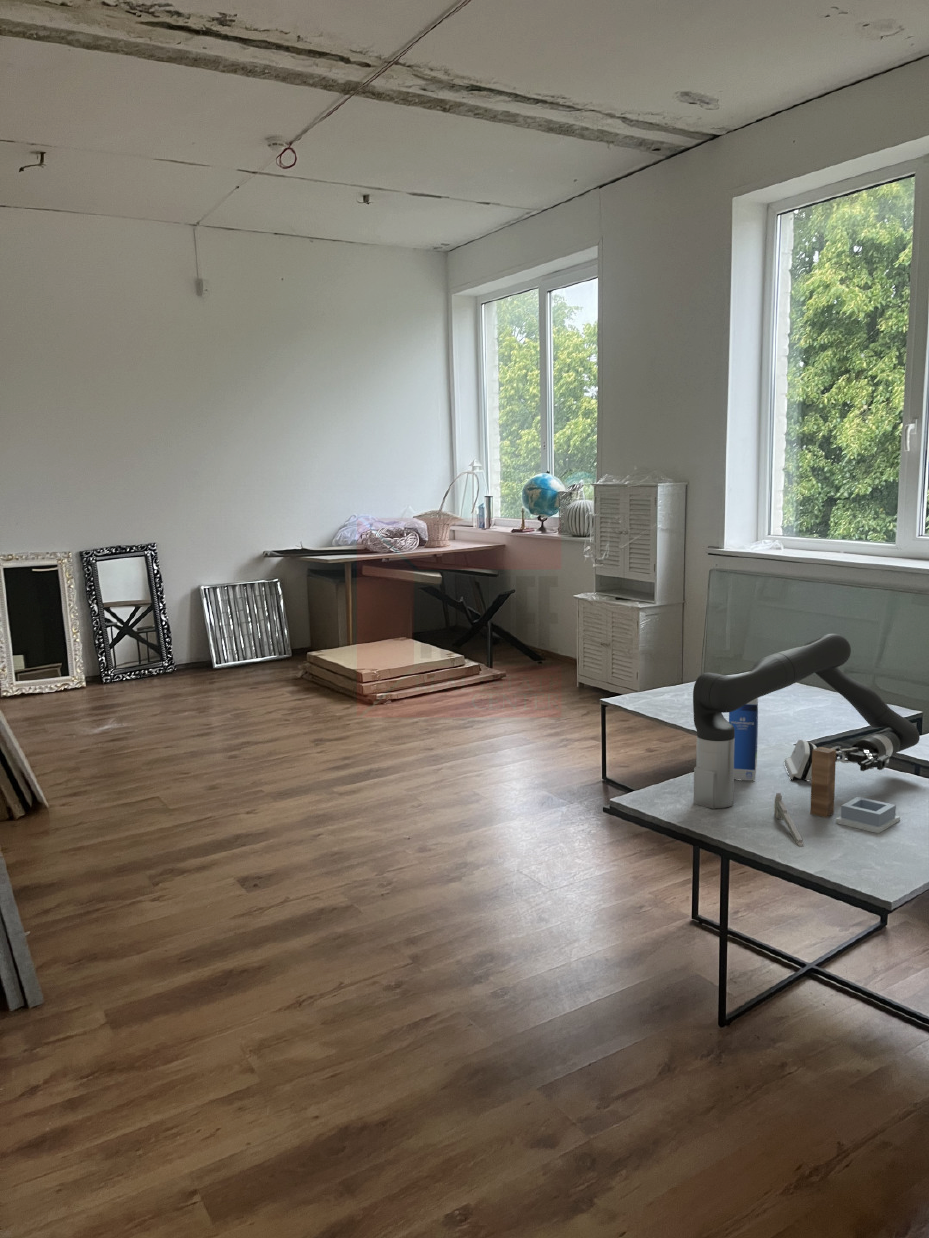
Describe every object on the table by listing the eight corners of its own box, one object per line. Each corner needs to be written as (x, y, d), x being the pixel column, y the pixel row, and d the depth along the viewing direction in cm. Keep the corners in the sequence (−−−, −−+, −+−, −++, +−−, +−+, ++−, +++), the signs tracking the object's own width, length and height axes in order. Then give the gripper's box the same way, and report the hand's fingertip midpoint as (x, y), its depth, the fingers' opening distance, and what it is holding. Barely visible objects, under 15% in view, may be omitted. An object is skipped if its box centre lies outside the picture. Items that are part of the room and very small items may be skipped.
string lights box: (729, 766, 262) (731, 678, 258) (757, 768, 259) (759, 679, 256) (727, 779, 249) (728, 687, 246) (756, 782, 247) (758, 689, 244)
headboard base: (878, 833, 207) (879, 816, 207) (835, 822, 215) (836, 806, 214) (899, 820, 216) (900, 804, 215) (858, 810, 223) (858, 794, 222)
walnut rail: (826, 817, 218) (828, 753, 216) (810, 813, 221) (812, 749, 219) (833, 813, 221) (836, 749, 219) (818, 809, 224) (820, 746, 222)
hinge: (782, 763, 264) (796, 732, 262) (799, 769, 263) (812, 738, 261) (790, 780, 247) (804, 747, 245) (807, 787, 247) (821, 754, 245)
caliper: (773, 816, 221) (774, 791, 220) (778, 816, 221) (778, 791, 220) (799, 847, 201) (799, 820, 200) (804, 847, 201) (804, 820, 200)
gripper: (846, 731, 243) (817, 744, 232) (900, 741, 233) (873, 754, 222) (845, 758, 244) (817, 772, 233) (899, 769, 234) (872, 784, 223)
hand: (844, 763), depth 228 cm, fingers open, 8 cm apart
